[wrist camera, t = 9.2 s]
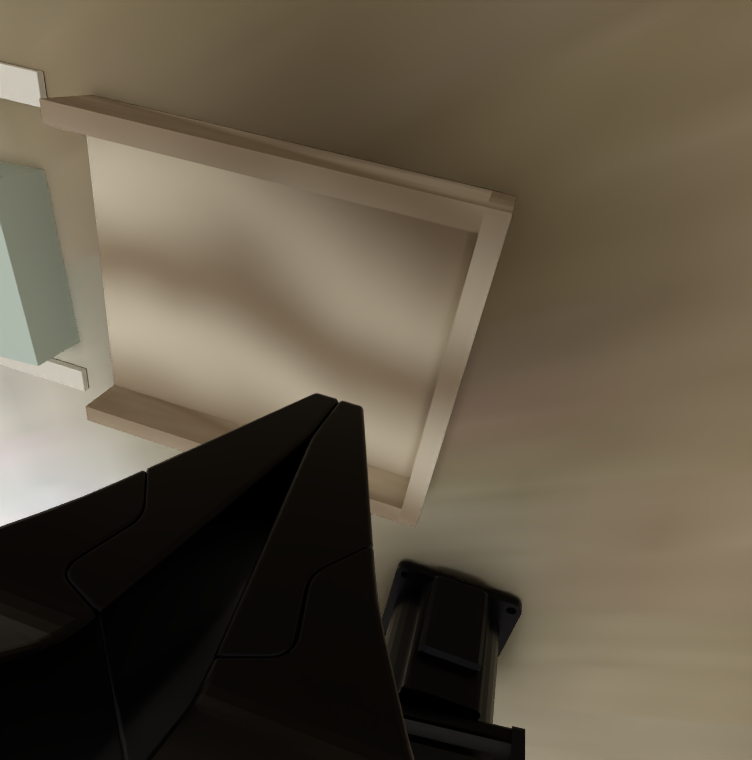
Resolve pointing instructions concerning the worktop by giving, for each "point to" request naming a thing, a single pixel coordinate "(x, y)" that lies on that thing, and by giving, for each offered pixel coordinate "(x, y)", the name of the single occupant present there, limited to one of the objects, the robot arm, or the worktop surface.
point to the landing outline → (28, 90)
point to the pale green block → (31, 271)
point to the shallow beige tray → (281, 285)
